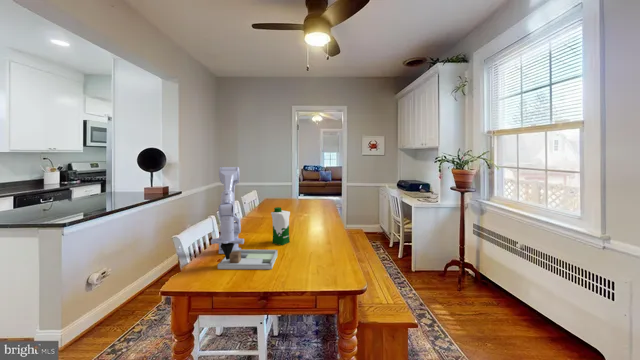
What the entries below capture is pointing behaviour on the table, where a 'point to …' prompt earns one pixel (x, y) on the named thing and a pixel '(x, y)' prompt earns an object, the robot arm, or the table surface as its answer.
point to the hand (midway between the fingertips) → (228, 258)
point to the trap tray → (251, 260)
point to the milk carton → (280, 226)
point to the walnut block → (235, 257)
